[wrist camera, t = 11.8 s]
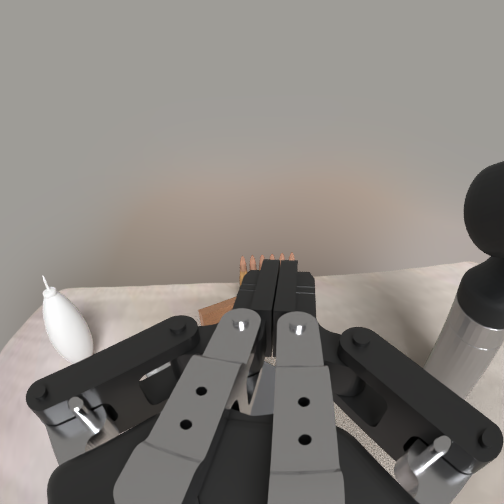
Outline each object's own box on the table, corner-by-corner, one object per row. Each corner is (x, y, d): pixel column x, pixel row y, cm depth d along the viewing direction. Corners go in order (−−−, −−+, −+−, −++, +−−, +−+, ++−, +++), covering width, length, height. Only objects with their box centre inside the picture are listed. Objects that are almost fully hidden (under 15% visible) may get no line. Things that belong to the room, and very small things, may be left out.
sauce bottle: (108, 359, 42) (70, 272, 34) (76, 382, 36) (27, 295, 28) (90, 339, 46) (56, 258, 38) (60, 359, 40) (19, 278, 32)
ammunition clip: (241, 313, 54) (237, 258, 48) (241, 307, 55) (236, 254, 50) (295, 308, 54) (298, 254, 49) (293, 302, 56) (295, 249, 50)
